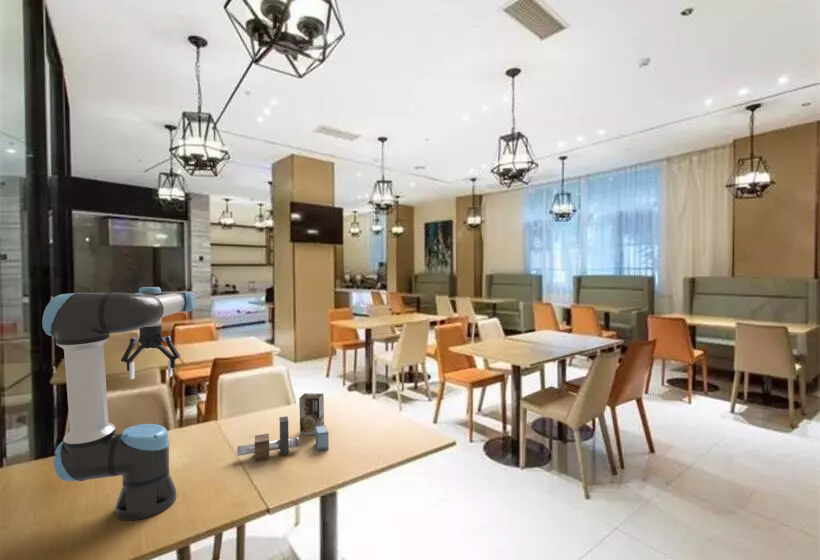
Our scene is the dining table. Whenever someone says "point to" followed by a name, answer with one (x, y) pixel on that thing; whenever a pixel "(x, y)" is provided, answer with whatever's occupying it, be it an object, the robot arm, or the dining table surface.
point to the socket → (322, 438)
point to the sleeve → (261, 447)
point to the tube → (274, 445)
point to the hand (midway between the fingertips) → (151, 377)
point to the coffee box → (311, 412)
